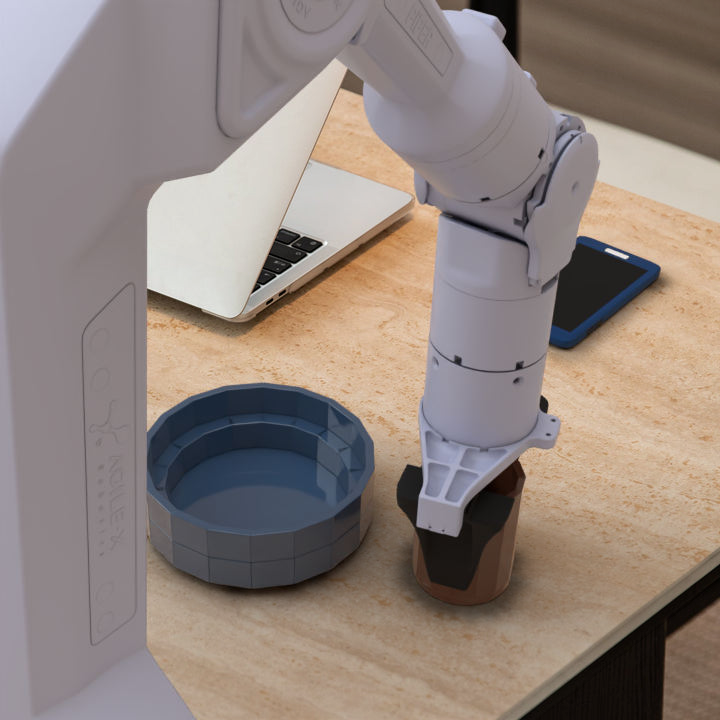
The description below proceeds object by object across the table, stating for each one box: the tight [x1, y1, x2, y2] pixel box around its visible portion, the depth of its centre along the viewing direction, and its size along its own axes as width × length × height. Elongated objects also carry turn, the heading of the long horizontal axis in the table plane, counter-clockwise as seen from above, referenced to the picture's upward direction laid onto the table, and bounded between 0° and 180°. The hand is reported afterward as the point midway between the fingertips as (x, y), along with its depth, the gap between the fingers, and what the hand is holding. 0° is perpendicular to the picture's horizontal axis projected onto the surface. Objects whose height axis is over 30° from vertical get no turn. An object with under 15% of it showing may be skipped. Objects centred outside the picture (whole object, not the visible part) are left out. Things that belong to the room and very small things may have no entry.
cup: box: [411, 459, 527, 606], centre depth 66 cm, size 5×6×7 cm
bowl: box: [147, 381, 376, 590], centre depth 70 cm, size 13×13×4 cm
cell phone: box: [549, 235, 662, 349], centre depth 92 cm, size 7×14×1 cm, turn 141°
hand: (464, 544), depth 67 cm, fingers closed on cup, 5 cm apart
